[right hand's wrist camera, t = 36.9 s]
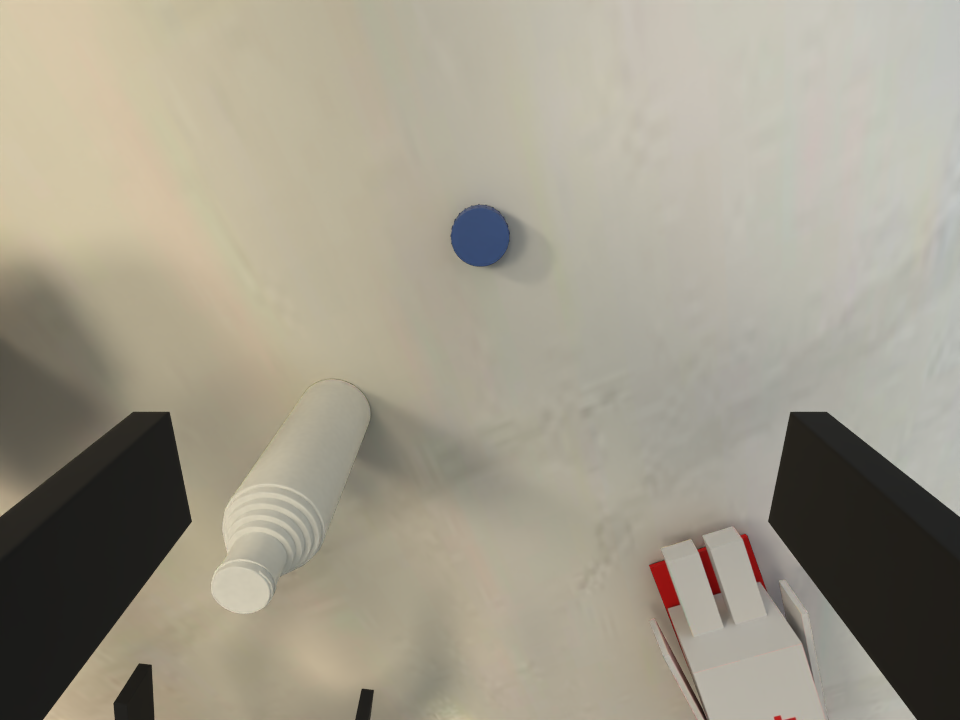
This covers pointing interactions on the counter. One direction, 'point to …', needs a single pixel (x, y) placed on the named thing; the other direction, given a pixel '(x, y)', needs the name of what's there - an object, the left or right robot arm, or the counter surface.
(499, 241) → the cap
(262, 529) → the bottle
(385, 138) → the counter surface
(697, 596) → the toy
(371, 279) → the counter surface
